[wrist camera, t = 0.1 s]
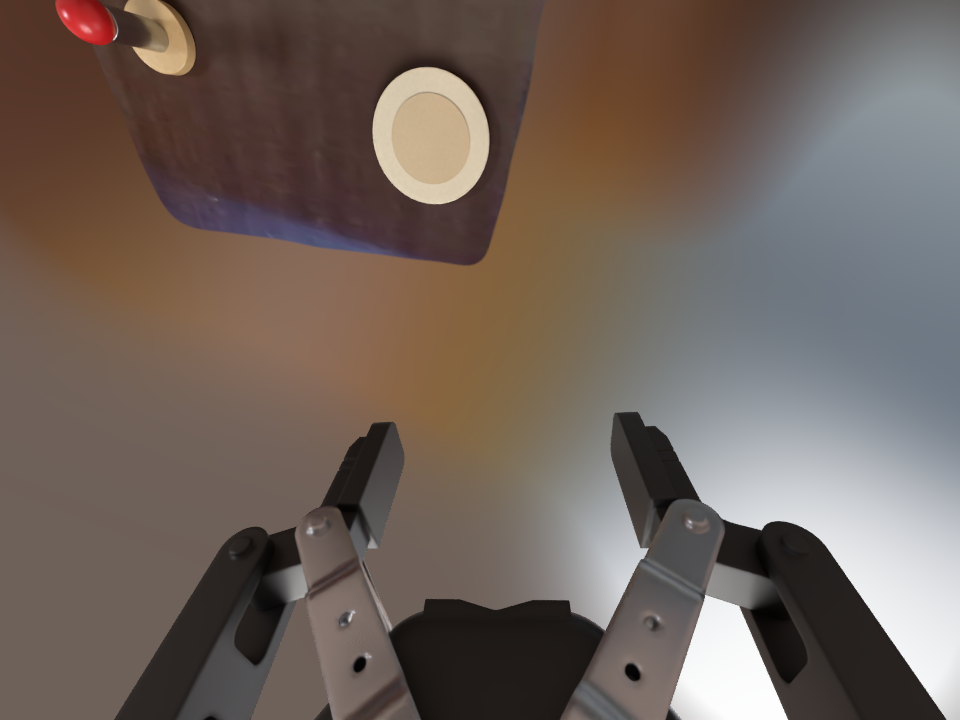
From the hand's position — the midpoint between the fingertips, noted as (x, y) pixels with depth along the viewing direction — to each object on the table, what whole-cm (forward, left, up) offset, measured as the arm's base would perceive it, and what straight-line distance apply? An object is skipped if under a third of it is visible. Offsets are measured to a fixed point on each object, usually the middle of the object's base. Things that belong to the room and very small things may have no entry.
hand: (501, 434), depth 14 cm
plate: (-9, -7, -34) cm, 36 cm away
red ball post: (-20, -31, -34) cm, 50 cm away
